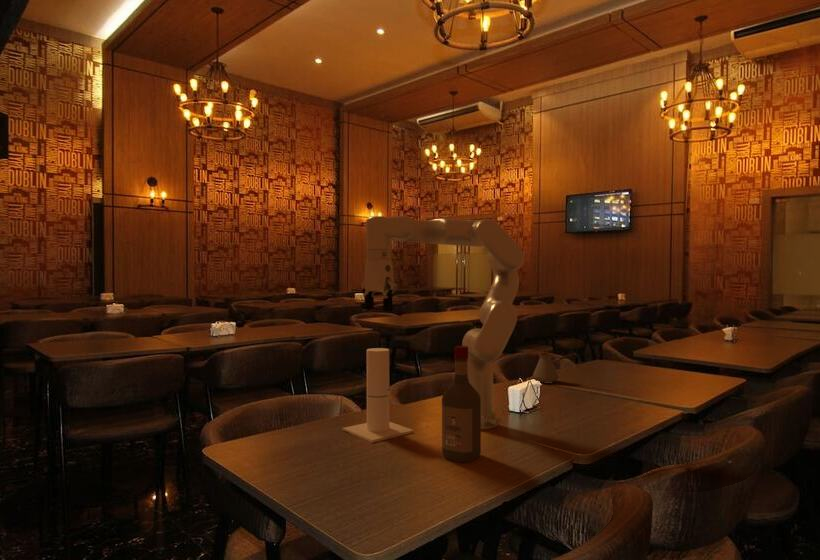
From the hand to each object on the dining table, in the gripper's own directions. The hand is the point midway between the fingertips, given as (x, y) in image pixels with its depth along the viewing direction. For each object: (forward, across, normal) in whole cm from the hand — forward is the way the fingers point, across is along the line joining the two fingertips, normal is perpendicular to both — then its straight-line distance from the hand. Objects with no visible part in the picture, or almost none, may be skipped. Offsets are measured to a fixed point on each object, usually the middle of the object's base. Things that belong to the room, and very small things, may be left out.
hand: (378, 310), depth 169 cm
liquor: (+38, -34, -3) cm, 51 cm away
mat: (+38, 0, +1) cm, 38 cm away
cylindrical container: (+38, 0, +1) cm, 38 cm away
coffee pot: (+39, +6, -104) cm, 112 cm away
